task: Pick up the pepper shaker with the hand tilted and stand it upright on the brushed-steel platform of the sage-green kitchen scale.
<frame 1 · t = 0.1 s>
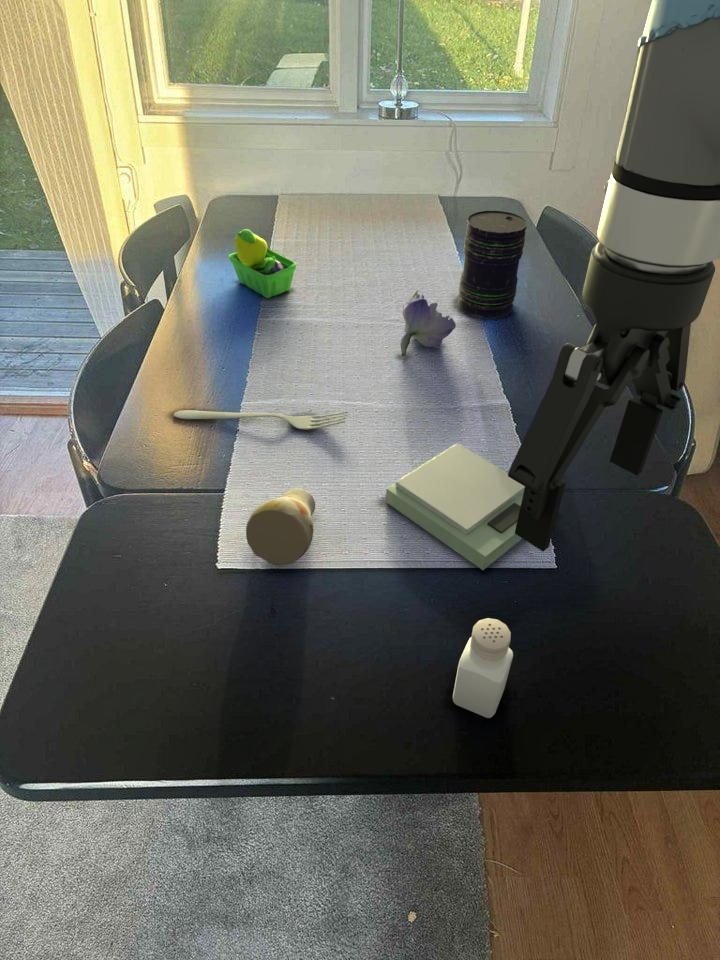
hand: (581, 501, 58), 18 cm above the table, tool pointing down, fingers open, 13 cm apart
fork: (259, 421, 97), on the table
flower: (420, 347, 113), on the table
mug: (286, 538, 80), on the table
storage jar: (484, 306, 124), on the table
fruit basket: (261, 288, 128), on the table
pepper shaker: (477, 697, 65), on the table
scale: (468, 508, 84), on the table
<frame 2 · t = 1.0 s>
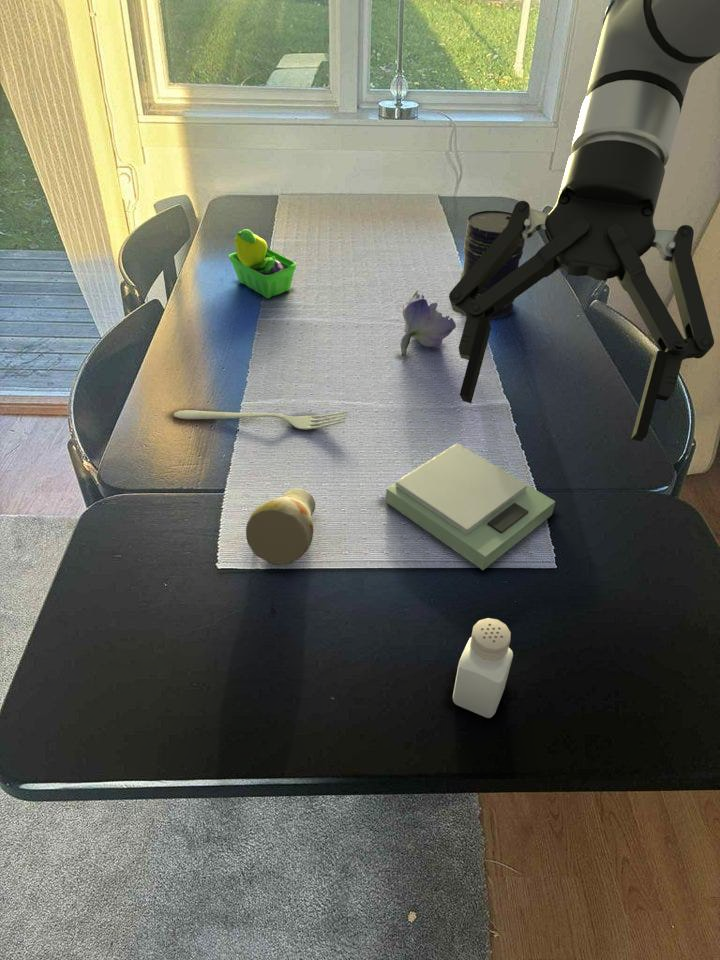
hand: (549, 418, 55), 25 cm above the table, tool tilted 45°, fingers open, 13 cm apart
nothing on the table moved.
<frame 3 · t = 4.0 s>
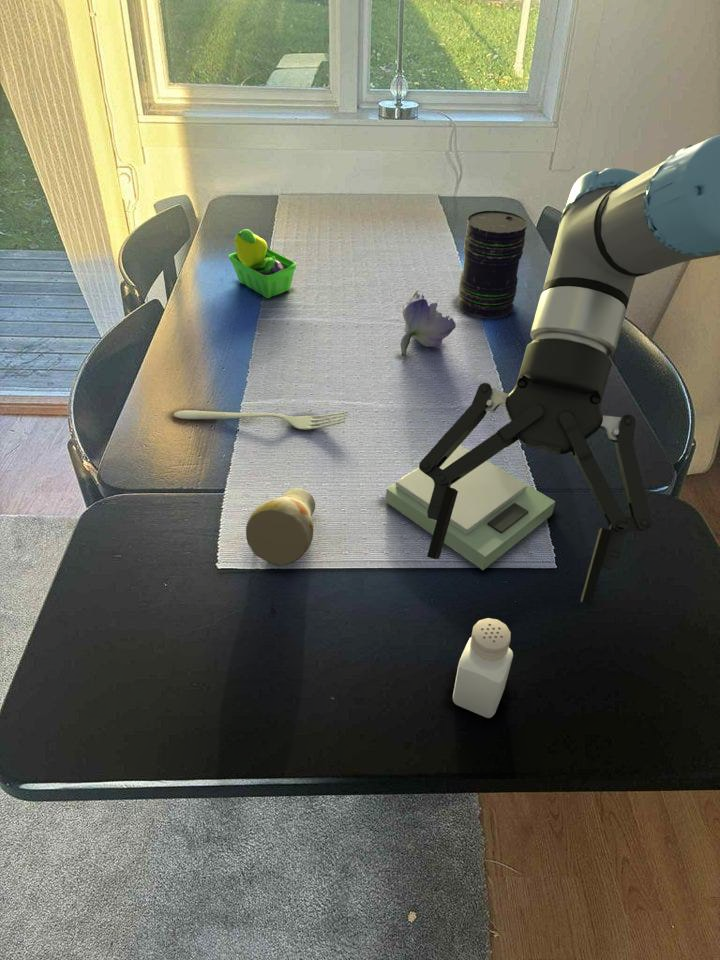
hand: (506, 580, 61), 10 cm above the table, tool tilted 45°, fingers open, 13 cm apart
nothing on the table moved.
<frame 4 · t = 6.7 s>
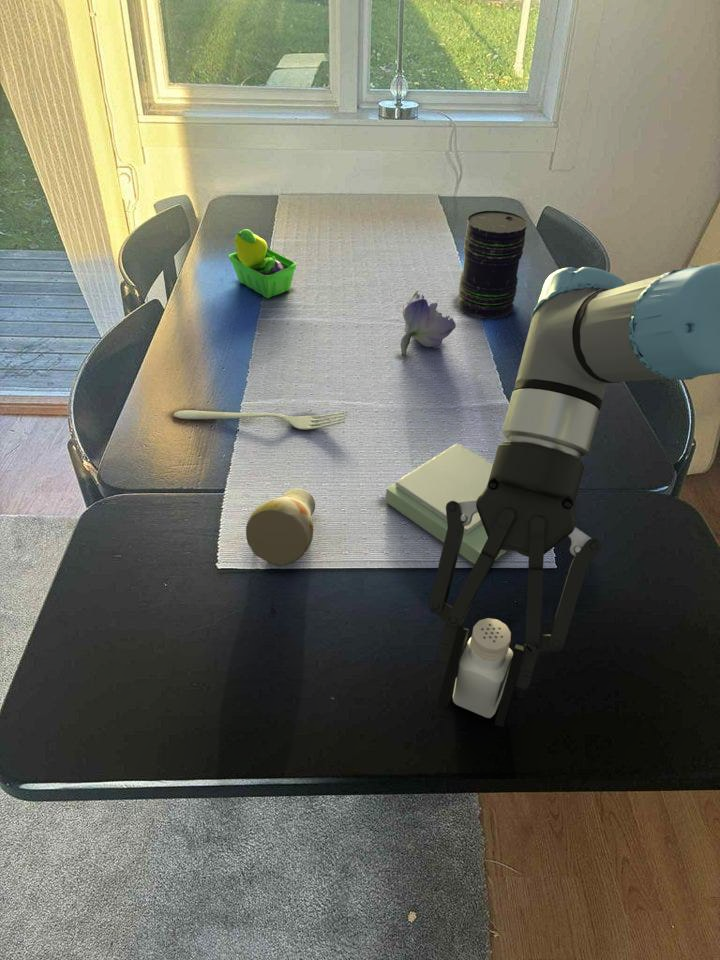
hand: (471, 711, 60), 3 cm above the table, tool tilted 45°, fingers closed on pepper shaker, 4 cm apart
pepper shaker: (477, 697, 65), on the table, touching gripper
everything else where it was.
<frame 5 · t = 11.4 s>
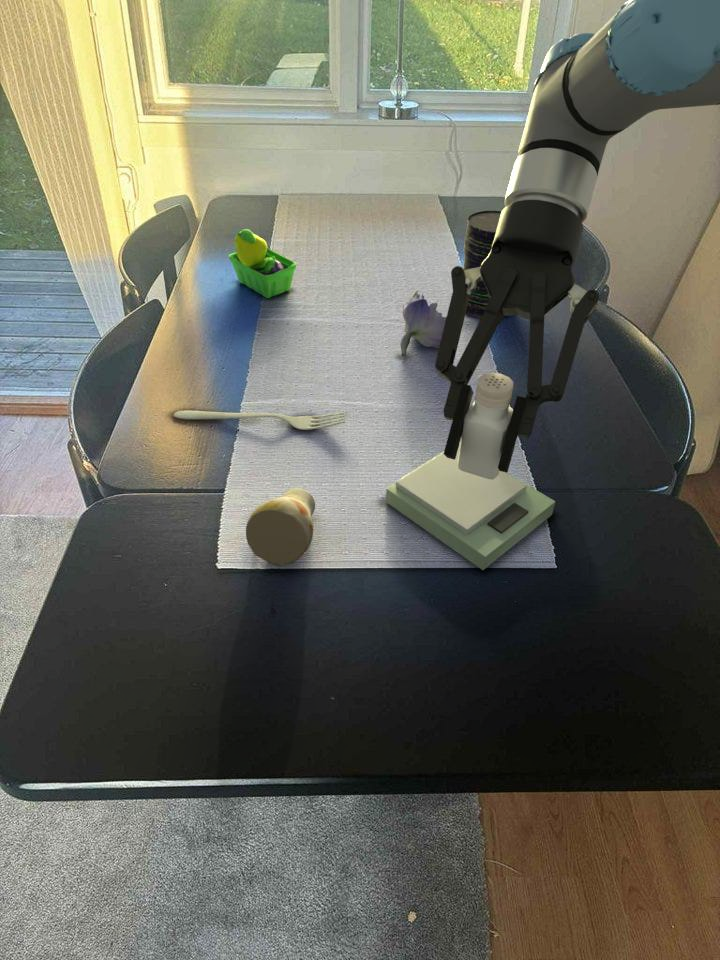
hand: (475, 462, 63), 17 cm above the table, tool tilted 45°, fingers closed on pepper shaker, 4 cm apart
pepper shaker: (481, 467, 68), point 14 cm above the table, touching gripper
everything else where it was.
when the fingers open (6 cm above the table, at t = 16.0 s): pepper shaker stays where it is, resting on scale.
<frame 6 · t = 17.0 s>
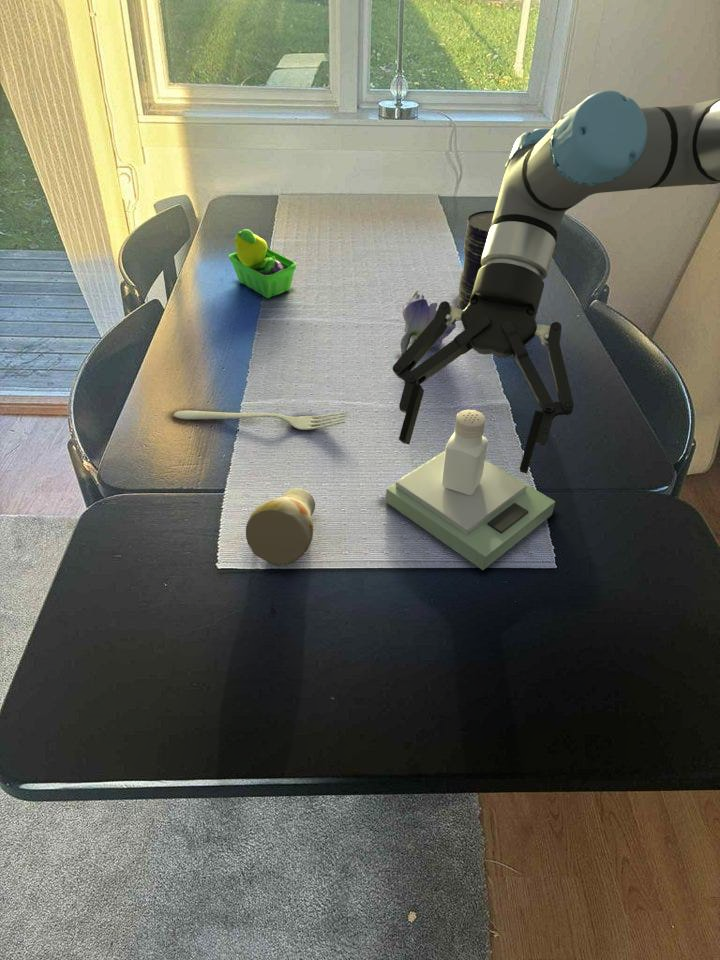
hand: (462, 456, 77), 9 cm above the table, tool tilted 45°, fingers open, 13 cm apart
pepper shaker: (461, 484, 83), point 3 cm above the table, touching scale
everything else where it was.
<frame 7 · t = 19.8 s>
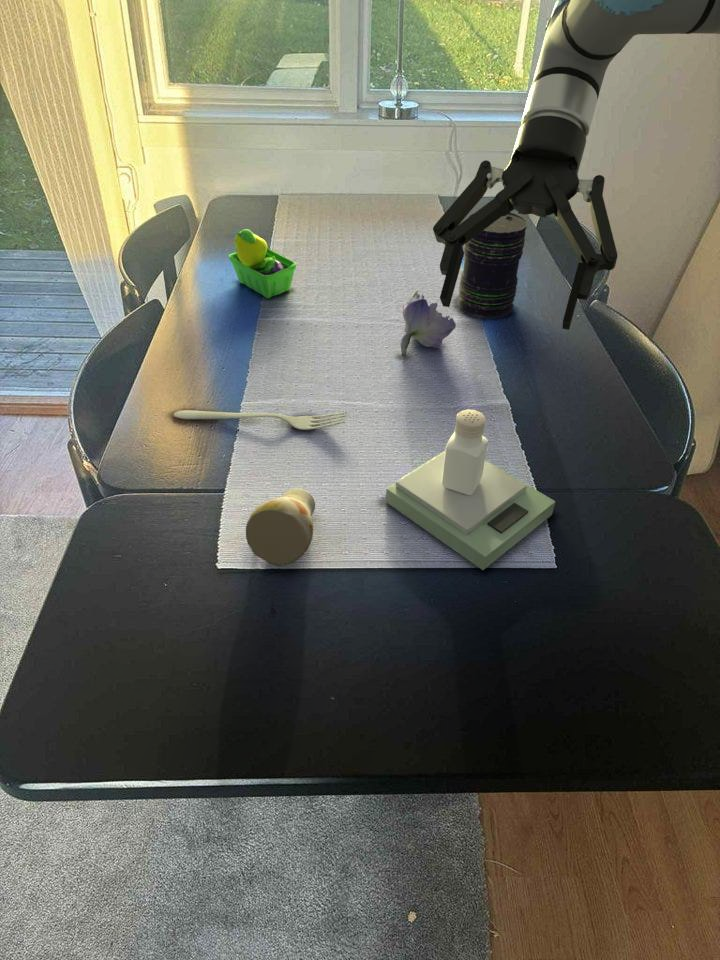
hand: (503, 314, 77), 21 cm above the table, tool tilted 45°, fingers open, 13 cm apart
nothing on the table moved.
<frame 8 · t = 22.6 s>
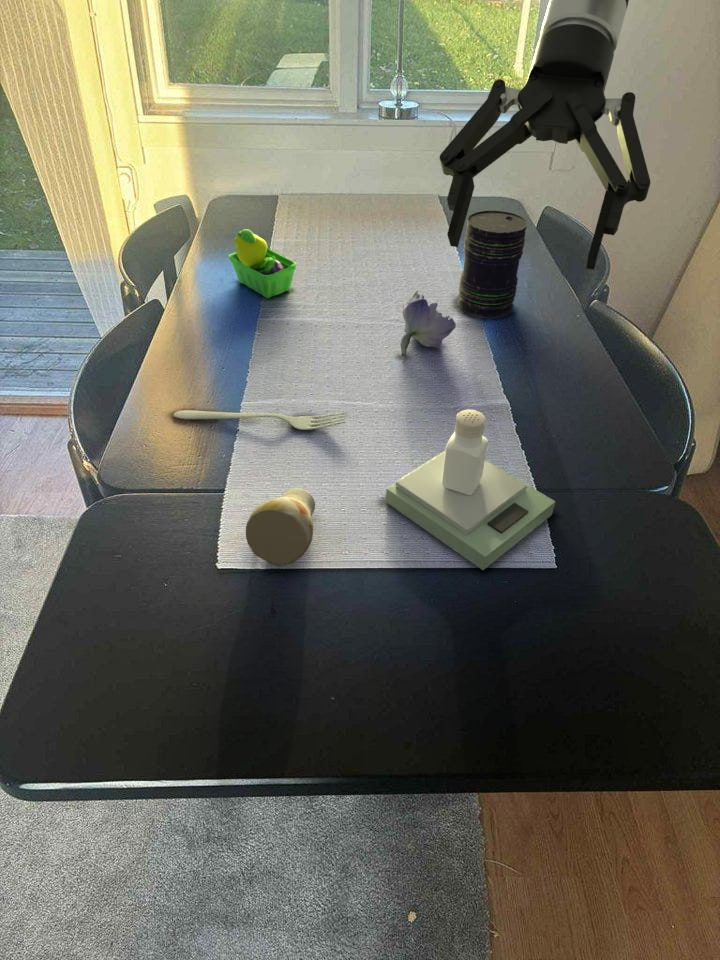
hand: (519, 252, 68), 30 cm above the table, tool tilted 45°, fingers open, 13 cm apart
nothing on the table moved.
at the end: pepper shaker inside the target area on the scale (0.1 cm from its centre), point 2.8 cm above the scale's base; pepper shaker tilted 0°; the gripper is holding nothing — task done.
